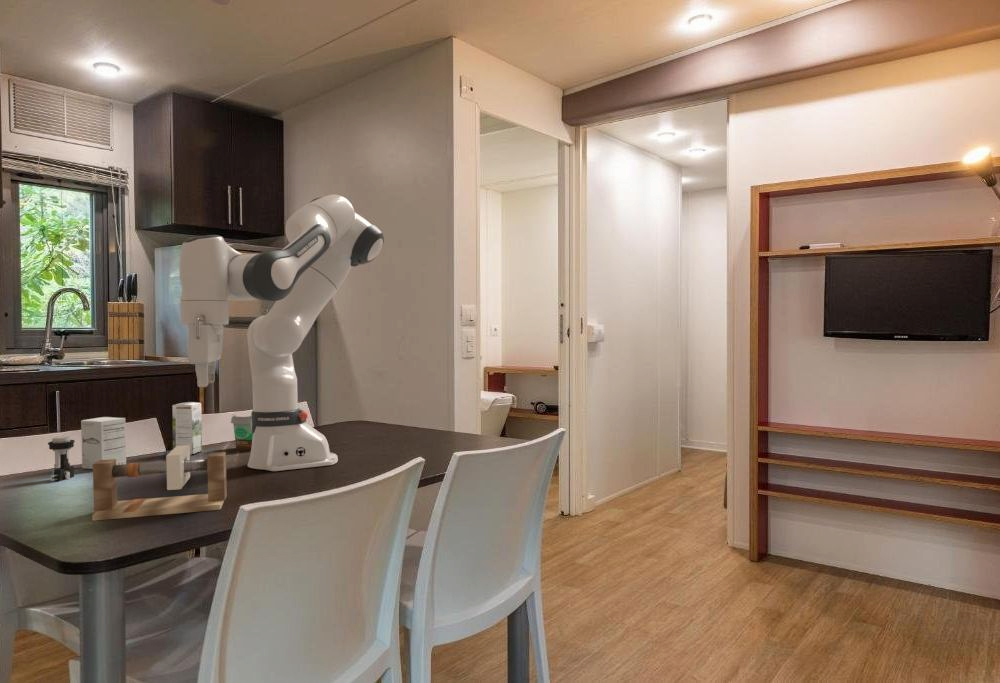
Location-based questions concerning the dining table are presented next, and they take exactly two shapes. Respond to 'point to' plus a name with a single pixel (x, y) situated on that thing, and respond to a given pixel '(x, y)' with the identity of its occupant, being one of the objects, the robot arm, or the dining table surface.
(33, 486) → the dining table surface
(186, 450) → the collar
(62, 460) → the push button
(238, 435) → the food container
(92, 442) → the supplement box
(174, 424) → the syrup box
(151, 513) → the rod stand
